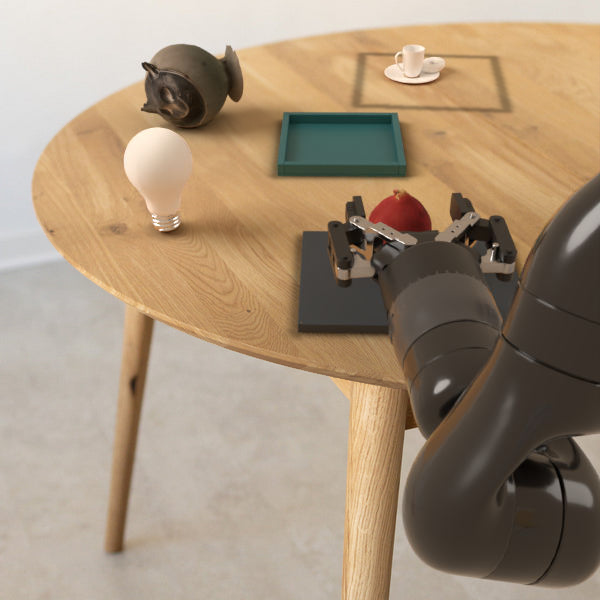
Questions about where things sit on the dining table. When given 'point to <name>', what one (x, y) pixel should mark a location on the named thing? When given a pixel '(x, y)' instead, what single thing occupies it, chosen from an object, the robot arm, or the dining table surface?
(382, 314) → the mat
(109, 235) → the dining table surface
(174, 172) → the light bulb
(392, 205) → the onion
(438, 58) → the teacup and saucer
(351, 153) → the tray
